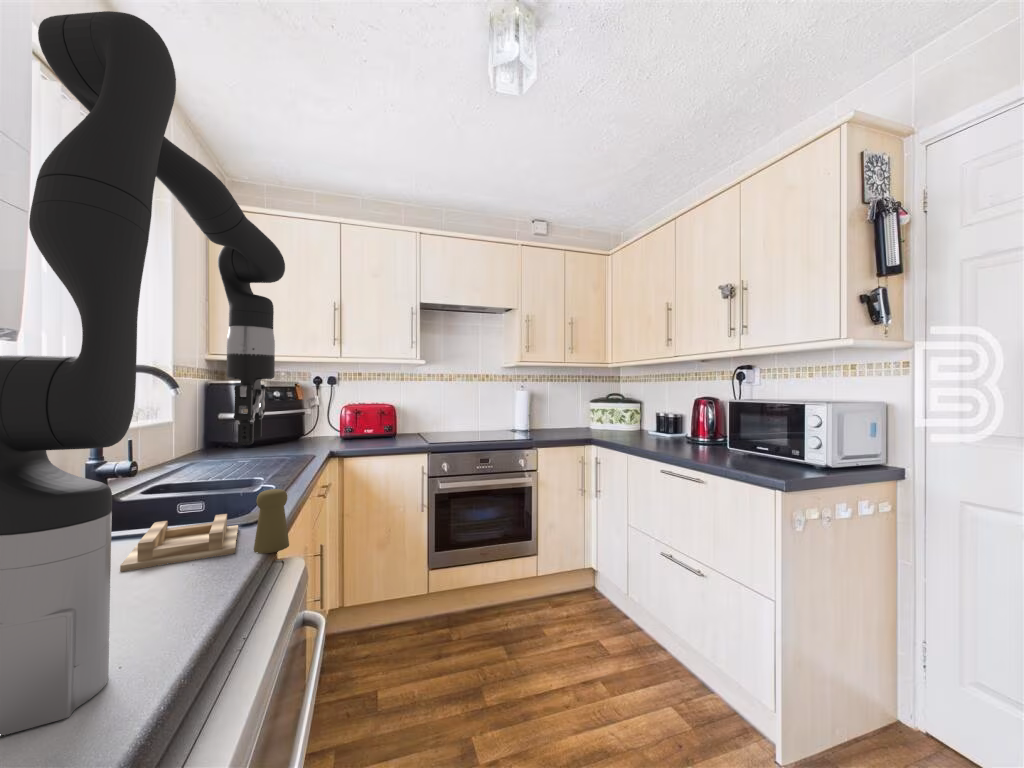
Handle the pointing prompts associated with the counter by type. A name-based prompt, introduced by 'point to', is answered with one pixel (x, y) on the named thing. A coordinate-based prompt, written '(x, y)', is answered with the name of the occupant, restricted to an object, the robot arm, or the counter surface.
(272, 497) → the olive pepper mill
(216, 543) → the cradle
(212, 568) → the counter surface
